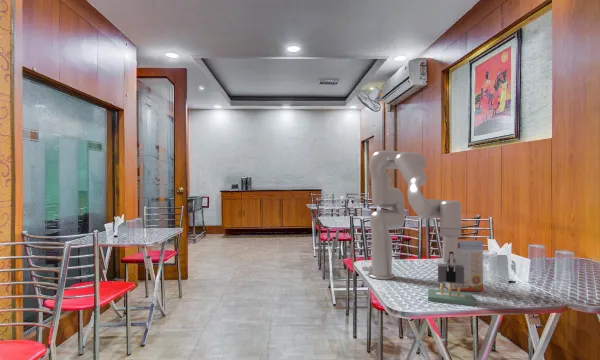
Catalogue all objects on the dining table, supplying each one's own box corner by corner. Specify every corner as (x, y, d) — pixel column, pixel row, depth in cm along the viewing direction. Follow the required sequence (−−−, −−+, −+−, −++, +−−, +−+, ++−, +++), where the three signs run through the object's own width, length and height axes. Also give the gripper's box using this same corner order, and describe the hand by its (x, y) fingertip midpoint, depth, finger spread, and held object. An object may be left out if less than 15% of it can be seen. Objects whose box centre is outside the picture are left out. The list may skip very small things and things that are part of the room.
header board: (428, 300, 137) (428, 286, 137) (428, 292, 148) (428, 278, 148) (475, 306, 132) (475, 290, 132) (471, 296, 143) (471, 282, 143)
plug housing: (438, 281, 139) (438, 266, 139) (437, 278, 144) (437, 263, 144) (463, 284, 136) (463, 267, 136) (462, 280, 141) (462, 265, 141)
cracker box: (476, 287, 157) (476, 238, 157) (483, 291, 151) (483, 240, 151) (443, 287, 157) (444, 238, 157) (449, 291, 151) (449, 240, 151)
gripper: (439, 229, 150) (439, 274, 149) (440, 234, 134) (440, 284, 133) (459, 230, 147) (459, 276, 147) (463, 235, 131) (463, 286, 131)
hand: (450, 279), depth 140 cm, fingers closed on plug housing, 5 cm apart
